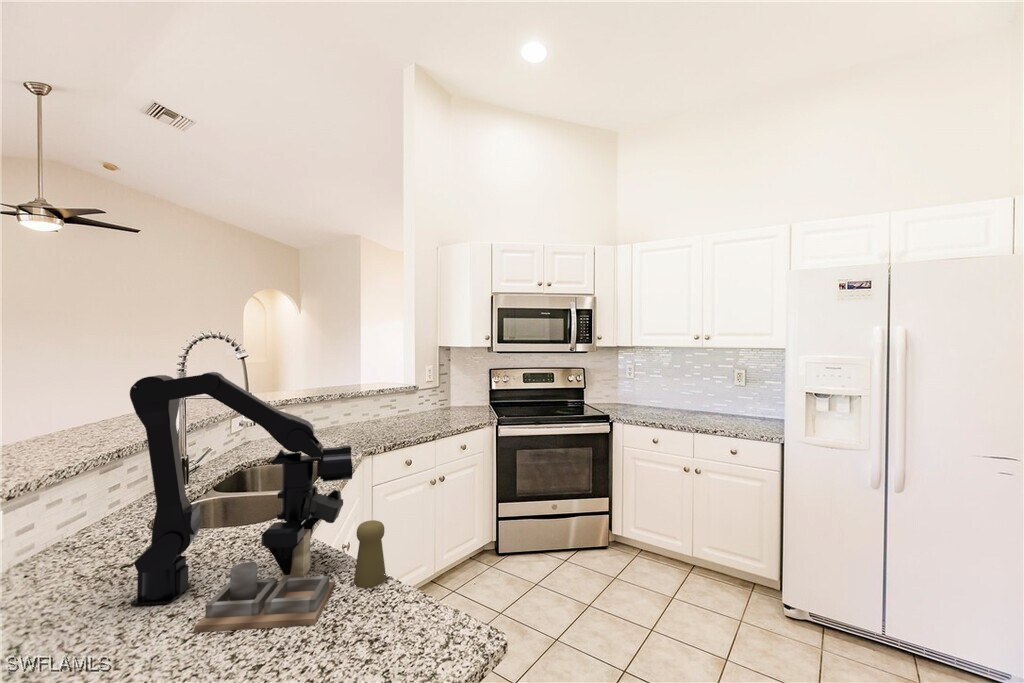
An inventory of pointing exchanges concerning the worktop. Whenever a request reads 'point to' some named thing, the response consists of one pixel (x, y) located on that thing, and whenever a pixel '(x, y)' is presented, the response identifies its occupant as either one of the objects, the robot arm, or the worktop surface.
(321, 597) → the board
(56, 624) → the worktop surface
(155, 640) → the worktop surface
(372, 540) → the olive green peg figure
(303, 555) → the maple pin
